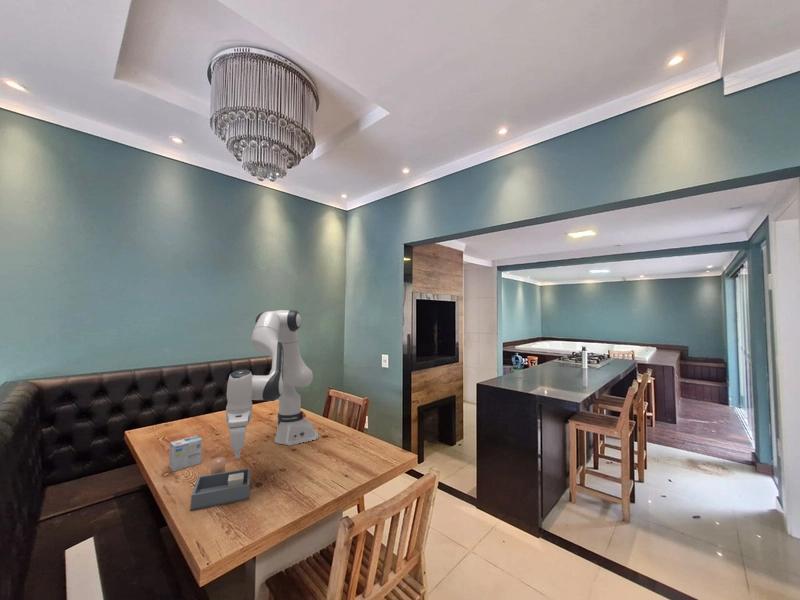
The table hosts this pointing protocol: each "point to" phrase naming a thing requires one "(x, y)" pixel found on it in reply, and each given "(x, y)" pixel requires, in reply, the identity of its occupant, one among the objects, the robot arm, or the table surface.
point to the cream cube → (235, 479)
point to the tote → (219, 490)
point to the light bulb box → (185, 453)
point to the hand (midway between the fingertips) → (238, 452)
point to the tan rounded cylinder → (218, 465)
